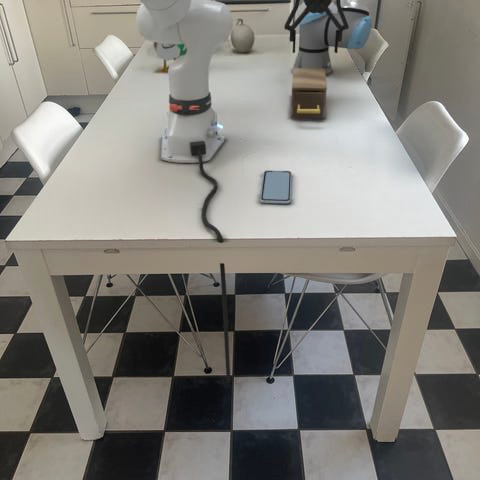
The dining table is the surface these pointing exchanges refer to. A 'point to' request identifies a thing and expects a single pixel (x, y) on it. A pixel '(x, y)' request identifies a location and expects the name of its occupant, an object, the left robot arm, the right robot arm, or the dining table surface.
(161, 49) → the toy
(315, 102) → the drawer
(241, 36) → the fruit
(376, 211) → the dining table surface
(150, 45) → the dining table surface
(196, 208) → the dining table surface
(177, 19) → the left robot arm
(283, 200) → the smartphone
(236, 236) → the dining table surface
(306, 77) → the open wooden box
